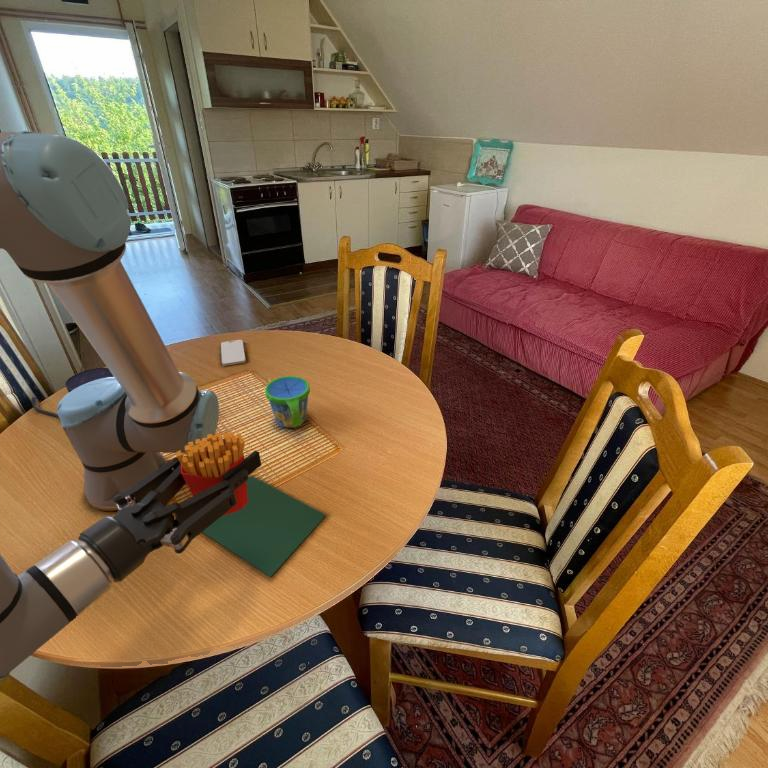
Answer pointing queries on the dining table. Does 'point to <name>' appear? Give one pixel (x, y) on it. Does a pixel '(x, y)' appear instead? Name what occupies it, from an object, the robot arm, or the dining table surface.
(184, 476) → the french fries
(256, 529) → the green cloth
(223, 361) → the smartphone
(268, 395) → the snack cup
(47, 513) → the dining table surface
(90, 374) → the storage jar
